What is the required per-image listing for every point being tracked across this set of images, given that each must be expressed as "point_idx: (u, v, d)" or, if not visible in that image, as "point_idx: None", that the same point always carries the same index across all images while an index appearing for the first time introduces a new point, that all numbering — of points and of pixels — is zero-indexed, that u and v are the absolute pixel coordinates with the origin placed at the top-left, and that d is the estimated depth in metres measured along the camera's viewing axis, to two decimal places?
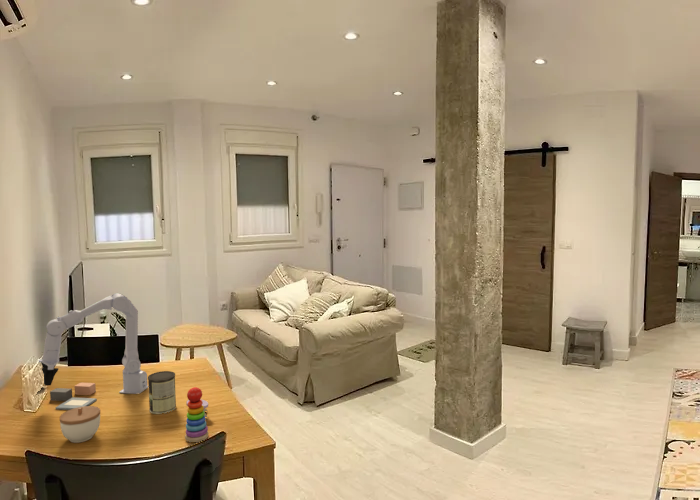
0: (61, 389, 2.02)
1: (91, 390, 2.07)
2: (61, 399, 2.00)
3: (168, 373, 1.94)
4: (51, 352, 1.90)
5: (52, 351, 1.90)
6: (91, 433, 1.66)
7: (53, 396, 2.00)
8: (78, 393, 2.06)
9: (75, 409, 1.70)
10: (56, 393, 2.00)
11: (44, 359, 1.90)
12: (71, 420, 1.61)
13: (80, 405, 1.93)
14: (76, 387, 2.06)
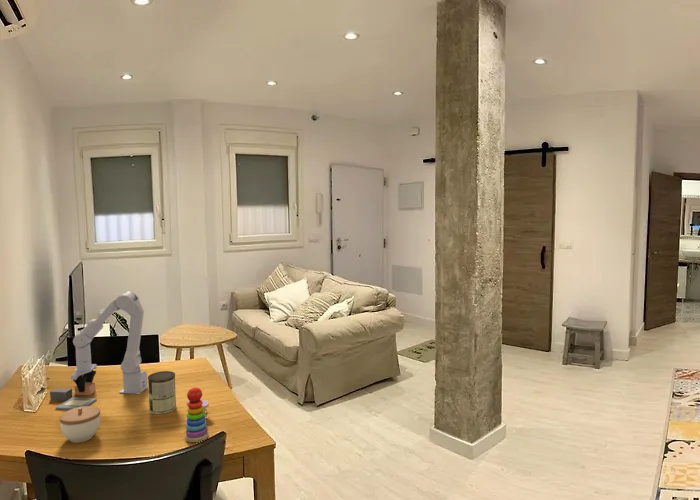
0: (61, 389, 2.02)
1: (91, 389, 2.07)
2: (61, 399, 2.00)
3: (168, 373, 1.94)
4: (78, 363, 2.04)
5: (79, 362, 2.04)
6: (91, 433, 1.66)
7: (53, 396, 2.00)
8: (78, 393, 2.06)
9: (75, 409, 1.70)
10: (56, 393, 2.00)
11: (76, 369, 2.06)
12: (71, 420, 1.61)
13: (80, 405, 1.93)
14: (76, 387, 2.06)
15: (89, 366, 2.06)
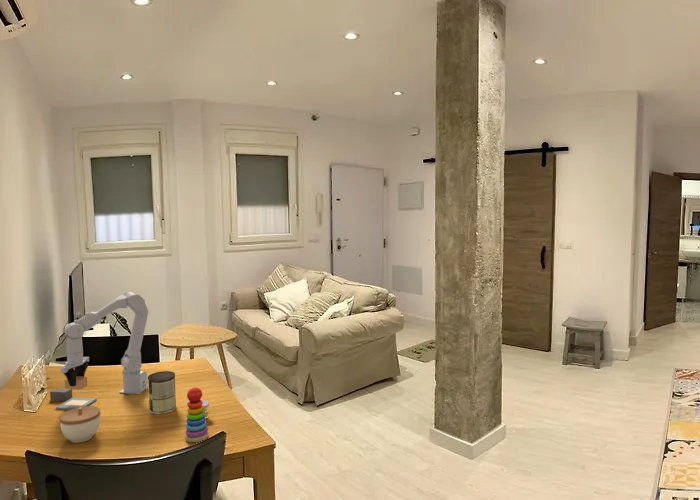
0: (61, 389, 2.02)
1: (82, 384, 1.95)
2: (61, 399, 2.00)
3: (168, 373, 1.94)
4: (69, 355, 1.93)
5: (70, 354, 1.93)
6: (91, 433, 1.66)
7: (53, 396, 2.00)
8: (68, 387, 1.95)
9: (75, 409, 1.70)
10: (56, 393, 2.00)
11: (67, 361, 1.94)
12: (71, 420, 1.61)
13: (80, 405, 1.93)
14: (66, 381, 1.95)
15: (80, 359, 1.95)
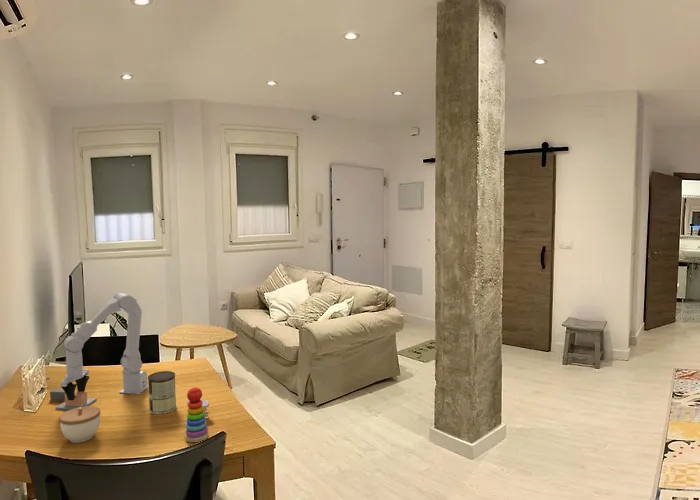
0: (61, 389, 2.02)
1: (82, 399, 1.94)
2: (61, 399, 2.00)
3: (168, 373, 1.94)
4: (69, 368, 1.92)
5: (70, 368, 1.92)
6: (91, 433, 1.66)
7: (53, 396, 2.00)
8: (68, 402, 1.94)
9: (75, 409, 1.70)
10: (56, 393, 2.00)
11: (67, 375, 1.93)
12: (71, 420, 1.61)
13: (80, 405, 1.93)
14: (66, 396, 1.94)
15: (80, 372, 1.94)
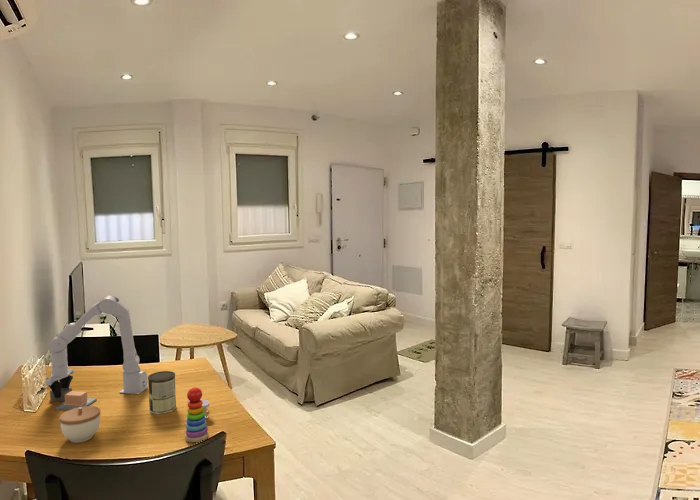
0: (61, 389, 2.02)
1: (82, 399, 1.94)
2: (61, 399, 2.00)
3: (168, 373, 1.94)
4: (54, 368, 1.98)
5: (55, 367, 1.98)
6: (91, 433, 1.66)
7: (53, 395, 2.00)
8: (68, 402, 1.94)
9: (75, 409, 1.70)
10: None
11: (52, 374, 1.99)
12: (71, 420, 1.61)
13: (80, 405, 1.93)
14: (66, 396, 1.94)
15: (65, 371, 2.00)
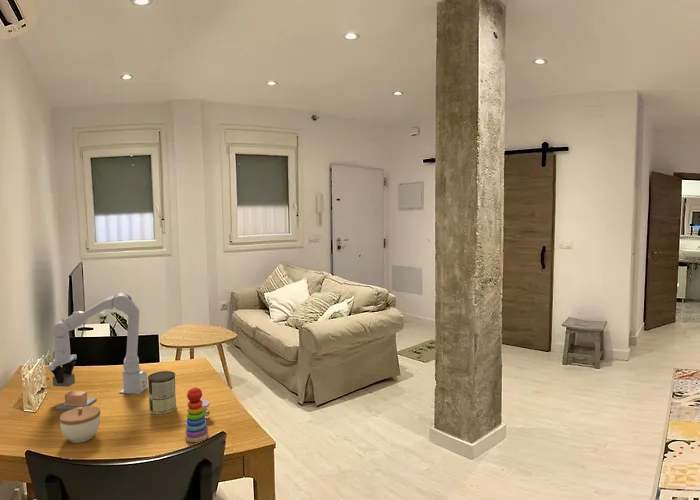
0: (64, 374, 2.00)
1: (82, 399, 1.94)
2: (64, 384, 1.98)
3: (168, 373, 1.94)
4: (57, 353, 1.96)
5: (57, 352, 1.96)
6: (91, 433, 1.66)
7: (55, 381, 1.98)
8: (68, 402, 1.94)
9: (75, 409, 1.70)
10: None
11: None
12: (71, 420, 1.61)
13: (80, 405, 1.93)
14: (66, 396, 1.94)
15: (68, 356, 1.98)
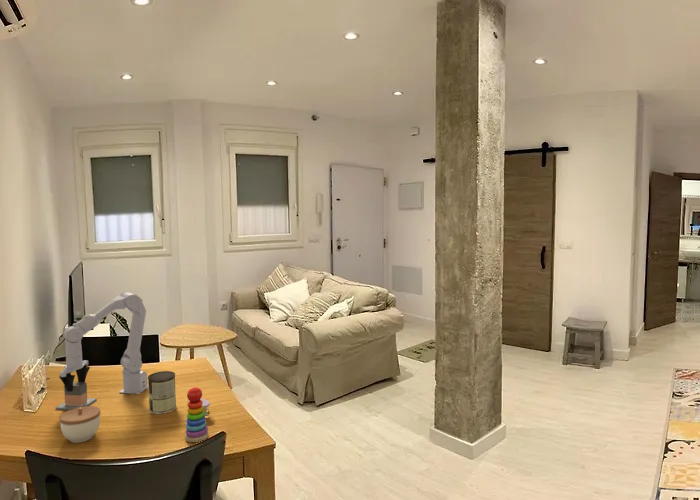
0: (75, 383, 1.96)
1: (82, 399, 1.94)
2: (76, 393, 1.93)
3: (168, 373, 1.94)
4: (68, 359, 1.91)
5: (69, 358, 1.91)
6: (91, 433, 1.66)
7: None
8: (68, 402, 1.94)
9: (75, 409, 1.70)
10: None
11: (66, 365, 1.93)
12: (71, 420, 1.61)
13: (80, 405, 1.93)
14: (66, 396, 1.94)
15: (80, 362, 1.94)
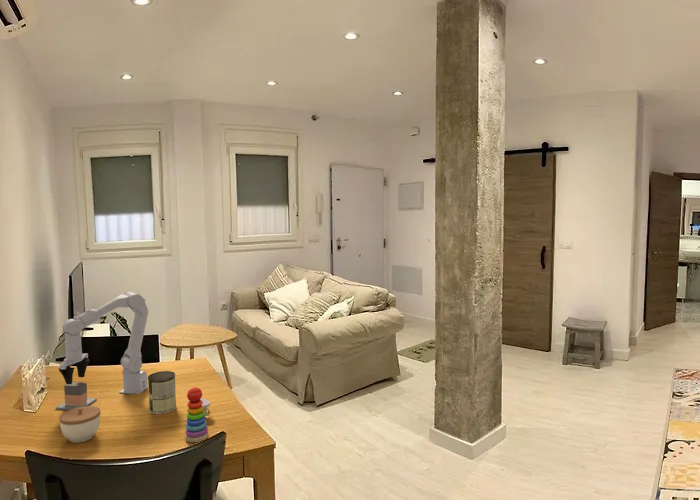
0: (75, 383, 1.96)
1: (82, 399, 1.94)
2: (76, 393, 1.93)
3: (168, 373, 1.94)
4: (68, 351, 1.91)
5: (69, 351, 1.91)
6: (91, 433, 1.66)
7: (67, 390, 1.94)
8: (68, 402, 1.94)
9: (75, 409, 1.70)
10: (70, 387, 1.93)
11: (66, 358, 1.93)
12: (71, 420, 1.61)
13: (80, 405, 1.93)
14: (66, 396, 1.94)
15: (79, 355, 1.93)
